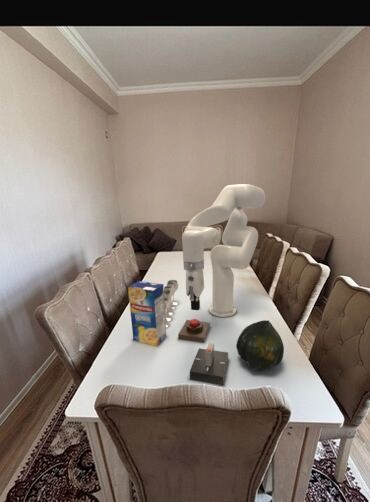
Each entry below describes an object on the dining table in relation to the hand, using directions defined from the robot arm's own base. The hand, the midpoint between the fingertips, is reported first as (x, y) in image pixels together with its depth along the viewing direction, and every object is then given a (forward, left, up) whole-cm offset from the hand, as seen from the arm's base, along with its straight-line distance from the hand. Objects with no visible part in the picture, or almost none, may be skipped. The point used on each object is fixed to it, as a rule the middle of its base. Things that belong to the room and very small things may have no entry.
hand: (195, 309), depth 98 cm
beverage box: (+9, -16, -10) cm, 21 cm away
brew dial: (+21, +10, -7) cm, 24 cm away
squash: (+13, +24, -10) cm, 30 cm away
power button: (+1, 0, -7) cm, 7 cm away
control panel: (+21, +10, -10) cm, 25 cm away
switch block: (+1, 0, -10) cm, 10 cm away
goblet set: (-13, -16, -10) cm, 23 cm away
